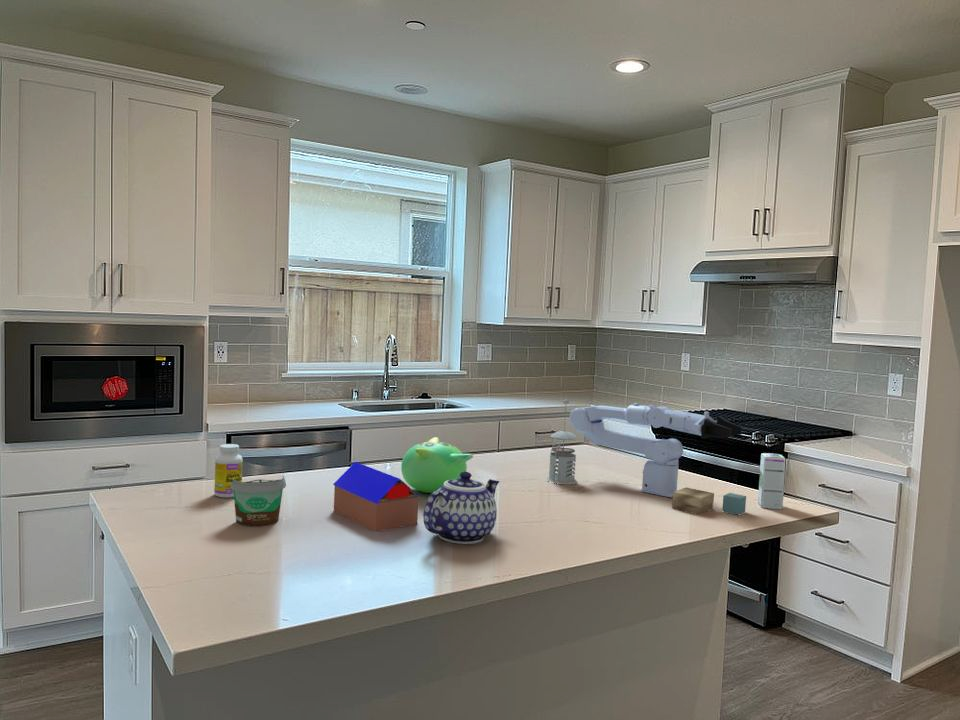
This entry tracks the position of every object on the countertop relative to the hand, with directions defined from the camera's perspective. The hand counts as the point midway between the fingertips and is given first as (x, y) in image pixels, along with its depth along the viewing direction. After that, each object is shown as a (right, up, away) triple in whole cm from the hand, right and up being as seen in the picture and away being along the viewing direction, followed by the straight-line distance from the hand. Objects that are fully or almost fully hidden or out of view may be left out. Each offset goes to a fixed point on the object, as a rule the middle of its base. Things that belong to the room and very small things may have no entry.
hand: (736, 432), depth 197 cm
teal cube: (-2, -21, -3) cm, 21 cm away
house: (-95, -18, -24) cm, 99 cm away
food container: (-119, -18, -33) cm, 125 cm away
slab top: (-12, -18, -2) cm, 22 cm away
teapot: (-74, -20, -36) cm, 84 cm away
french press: (-45, -17, +23) cm, 54 cm away
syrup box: (+11, -21, +5) cm, 25 cm away
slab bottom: (-12, -21, -2) cm, 24 cm away
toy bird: (-82, -17, +2) cm, 84 cm away
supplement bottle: (-134, -15, -11) cm, 136 cm away
